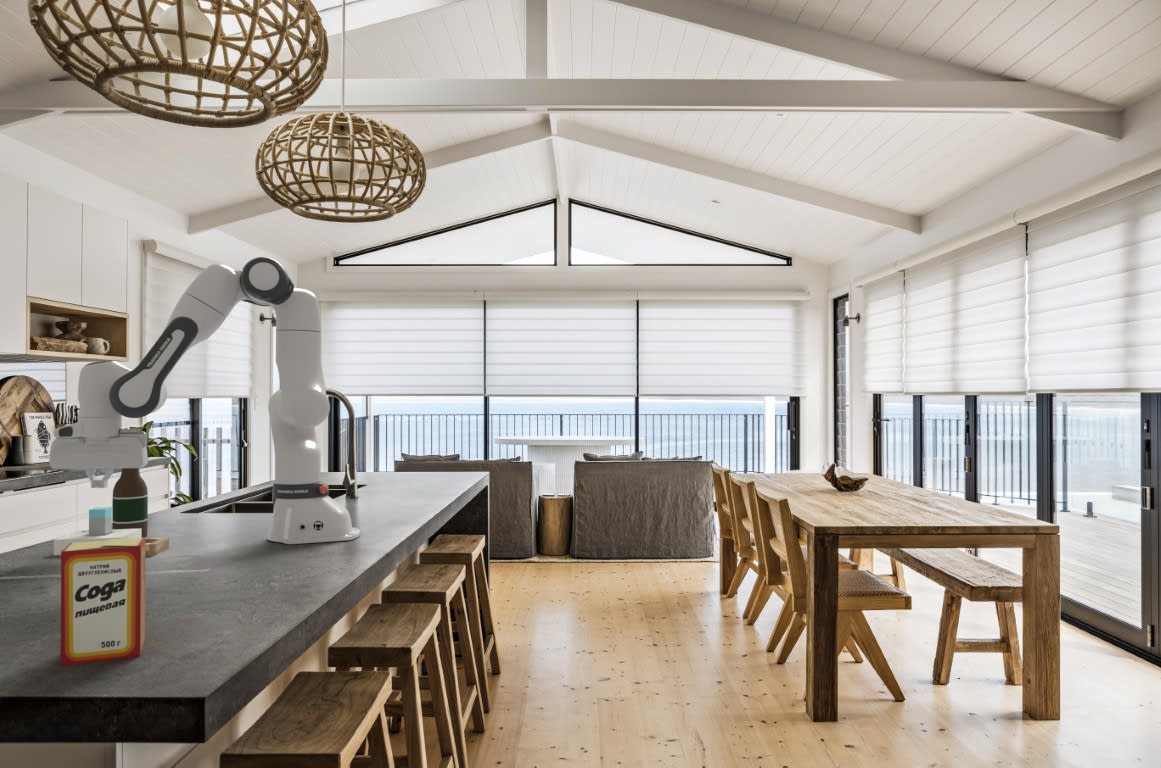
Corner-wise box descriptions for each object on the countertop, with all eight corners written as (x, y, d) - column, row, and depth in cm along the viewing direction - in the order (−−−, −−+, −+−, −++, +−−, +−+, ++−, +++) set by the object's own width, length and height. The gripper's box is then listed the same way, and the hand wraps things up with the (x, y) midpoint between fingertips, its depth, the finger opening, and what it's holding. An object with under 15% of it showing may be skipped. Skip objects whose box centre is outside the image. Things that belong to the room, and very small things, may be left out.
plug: (111, 544, 183) (111, 507, 183) (105, 547, 180) (105, 509, 180) (95, 545, 183) (95, 507, 183) (88, 548, 179) (88, 509, 179)
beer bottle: (104, 540, 193) (105, 445, 194) (131, 535, 201) (131, 443, 201) (129, 542, 191) (129, 446, 191) (154, 536, 199) (155, 444, 199)
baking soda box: (60, 666, 105) (61, 548, 105) (69, 651, 111) (70, 540, 111) (140, 656, 109) (140, 543, 109) (145, 642, 115) (145, 535, 115)
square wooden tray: (169, 550, 182) (169, 537, 182) (156, 557, 174) (156, 544, 174) (132, 551, 180) (132, 538, 180) (118, 558, 173) (118, 545, 173)
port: (141, 544, 188) (141, 527, 188) (120, 555, 176) (120, 536, 176) (78, 546, 186) (79, 529, 186) (53, 557, 174) (53, 538, 174)
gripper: (152, 428, 186) (152, 485, 186) (59, 428, 183) (59, 487, 183) (142, 429, 180) (141, 488, 180) (46, 430, 177) (45, 490, 176)
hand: (99, 487), depth 181 cm, fingers closed
